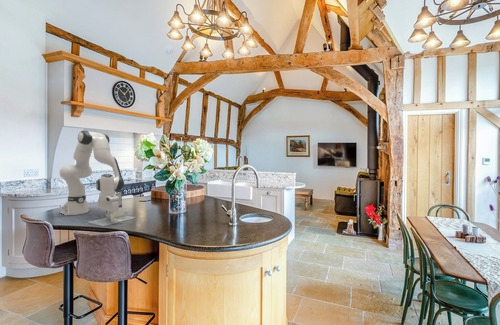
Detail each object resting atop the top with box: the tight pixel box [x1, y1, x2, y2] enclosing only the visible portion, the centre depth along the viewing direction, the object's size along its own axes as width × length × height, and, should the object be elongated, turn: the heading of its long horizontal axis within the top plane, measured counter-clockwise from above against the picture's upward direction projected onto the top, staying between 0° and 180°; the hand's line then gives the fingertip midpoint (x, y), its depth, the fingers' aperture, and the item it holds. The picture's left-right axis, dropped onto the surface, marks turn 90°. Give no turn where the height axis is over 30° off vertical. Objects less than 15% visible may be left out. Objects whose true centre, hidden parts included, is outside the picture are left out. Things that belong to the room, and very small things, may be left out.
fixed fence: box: [113, 205, 126, 217], centre depth 195 cm, size 2×12×7 cm, turn 150°
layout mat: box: [87, 215, 136, 227], centre depth 188 cm, size 19×25×1 cm
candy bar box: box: [115, 192, 123, 208], centre depth 207 cm, size 11×5×16 cm, turn 146°
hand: (107, 216), depth 183 cm, fingers closed
